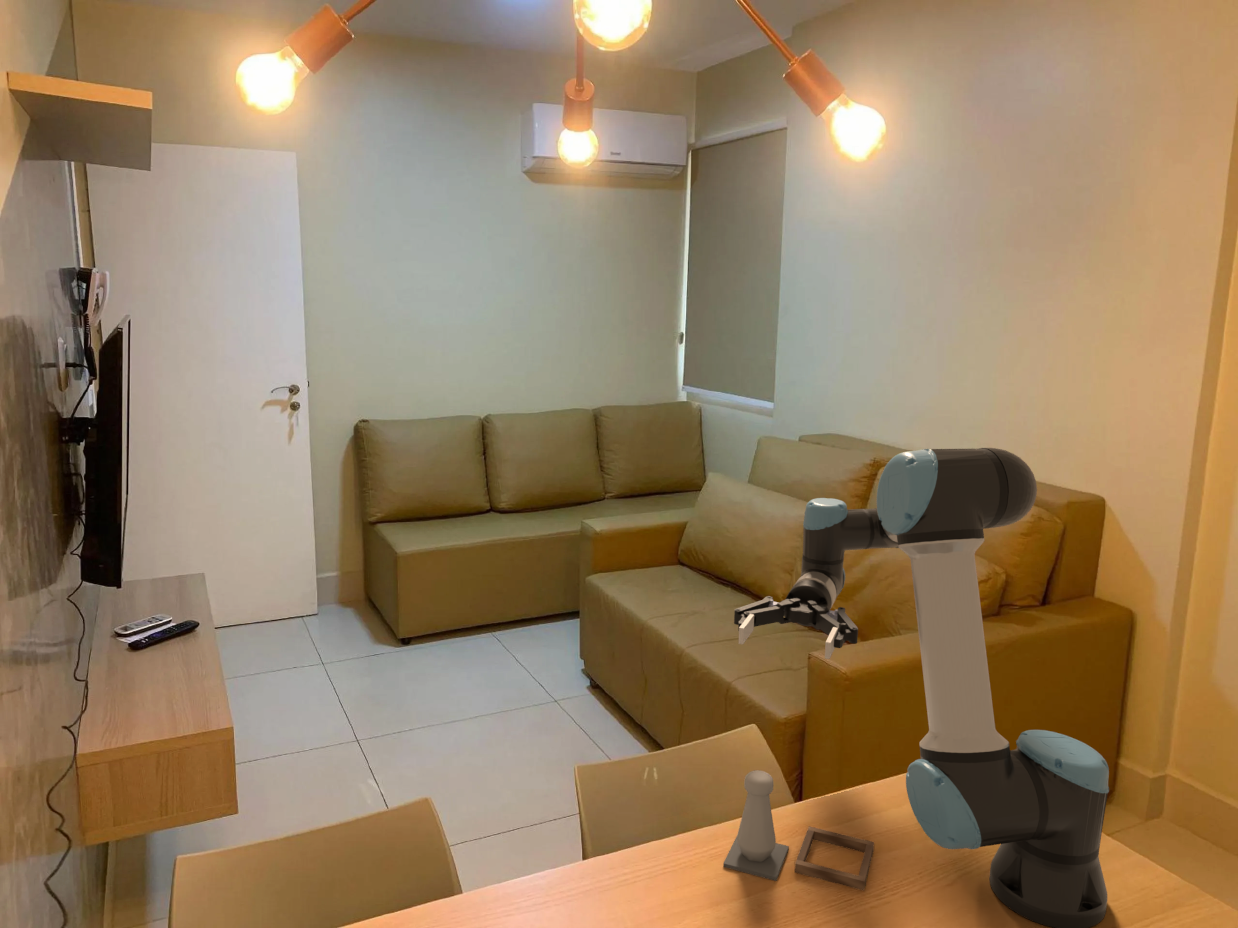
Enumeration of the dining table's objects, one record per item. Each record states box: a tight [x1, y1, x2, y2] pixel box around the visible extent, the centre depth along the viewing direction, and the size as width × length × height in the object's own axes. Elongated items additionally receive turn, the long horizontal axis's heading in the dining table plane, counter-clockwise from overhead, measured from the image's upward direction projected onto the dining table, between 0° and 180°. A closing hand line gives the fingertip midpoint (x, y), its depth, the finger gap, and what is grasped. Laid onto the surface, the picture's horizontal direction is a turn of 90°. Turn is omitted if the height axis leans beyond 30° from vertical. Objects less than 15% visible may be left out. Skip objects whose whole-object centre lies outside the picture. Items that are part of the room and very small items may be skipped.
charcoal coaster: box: [723, 836, 790, 882], centre depth 136 cm, size 8×8×1 cm
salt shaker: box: [736, 769, 777, 862], centre depth 135 cm, size 6×6×13 cm
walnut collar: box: [794, 825, 875, 891], centre depth 136 cm, size 10×10×2 cm
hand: (783, 643), depth 141 cm, fingers open, 13 cm apart
